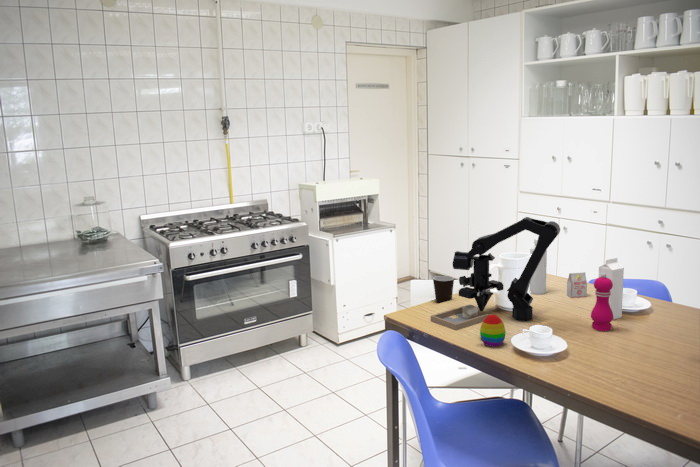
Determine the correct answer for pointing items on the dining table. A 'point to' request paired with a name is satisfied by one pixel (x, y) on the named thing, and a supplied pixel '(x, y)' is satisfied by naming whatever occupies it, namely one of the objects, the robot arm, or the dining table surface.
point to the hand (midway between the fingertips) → (481, 311)
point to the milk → (614, 285)
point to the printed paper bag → (577, 285)
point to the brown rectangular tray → (456, 319)
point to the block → (470, 311)
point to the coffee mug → (443, 288)
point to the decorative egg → (492, 331)
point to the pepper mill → (602, 304)
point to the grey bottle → (539, 274)
